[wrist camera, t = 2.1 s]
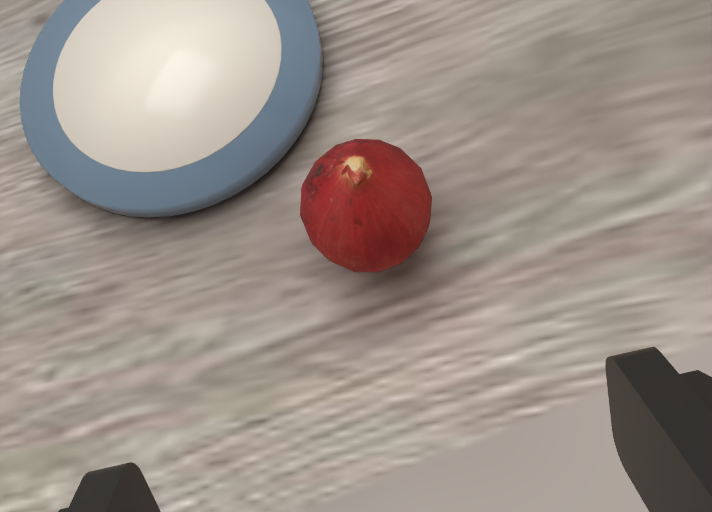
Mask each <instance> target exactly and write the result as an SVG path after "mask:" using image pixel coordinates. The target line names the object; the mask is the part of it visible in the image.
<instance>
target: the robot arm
mask: <svg viewBox="0 0 712 512" xmlns="http://www.w3.org/2000/svg"><path fill="white" fill-rule="evenodd" d="M606 377H607V386H608V395H609V405H610V413H611V423H612V431H613V437H614V442H615V445H616V448H617V452H618V455H619V457H620V460H621V462H622V465H623V467H624V469H625V471H626V472H627V474H628V476H629V478H630V479H631V481H632V483H633V484H634V486H635V488H636V490H637V491H638V493H639V494H640V496H641V498H642V500H643V502H644V503H645V505H646V507H647V508H648V510H649V512H712V377H710V376H708V375H706V374H704V373H702V372H701V371H699V370H696V371H692V372H687V373H683V374H679V373H678V372H677V371H676V370H675V369H674V367H673V366H672V365H671V364H670V363H669V362H668V360H667V359H666V358H665V357H664V356H663V354H662V353H661V352H660V351H659V350H658V349H657V348H655V347H650V348H646V349H641V350H637V351H632V352H628V353H623V354H619V355H614V356H610V357H607V359H606ZM58 512H160V509H159V507H158V505H157V503H156V501H155V499H154V497H153V495H152V493H151V491H150V489H149V487H148V484H147V482H146V480H145V478H144V476H143V474H142V472H141V470H140V469H139V467H138V466H137V465H136V464H134V463H126V464H122V465H117V466H113V467H108V468H104V469H99V470H95V471H91V472H88V473H86V474H85V476H84V477H83V479H82V480H81V483H80V485H79V487H78V489H77V491H76V493H75V495H74V497H73V499H72V502H71V504H70V506H69V508H65V509H60V510H59V511H58Z"/></svg>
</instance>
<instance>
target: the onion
mask: <svg viewBox="0 0 712 512" xmlns="http://www.w3.org/2000/svg"><path fill="white" fill-rule="evenodd" d="M431 203H432V196H431V193H430V190H429V188H428V185H427V182H426V180H425V177H424V174H423V172H422V169H421V168H420V167H419V166H418V165H417V164H416V163H415V162H414V161H413V160H412V159H411V158H410V157H409V156H408V155H407V154H406V153H405V152H404V151H402V150H401V149H400V148H398V147H396V146H393V145H391V144H388V143H386V142H383V141H381V140H369V139H354V140H351V141H348V142H345V143H341V144H338V145H335V146H334V147H333V148H332V149H330V150H329V151H328V152H327V153H325V154H324V155H323V156H322V157H320V158H319V159H318V160H317V161H315V163H314V165H313V167H312V168H311V170H310V172H309V174H308V175H307V177H306V179H305V181H304V183H303V185H302V189H301V207H300V216H301V219H302V221H303V223H304V226H305V228H306V231H307V233H308V236H309V238H310V240H311V242H312V244H313V245H314V246H315V247H316V248H317V249H318V250H319V251H320V252H321V253H322V254H323V255H324V256H325V257H326V258H327V259H328V260H329V261H331V262H333V263H336V264H338V265H340V266H343V267H345V268H347V269H350V270H352V271H354V272H379V271H382V270H385V269H388V268H390V267H393V266H396V265H399V264H401V263H402V262H403V261H404V260H406V259H407V258H408V257H409V256H410V255H411V254H412V253H413V252H414V251H415V250H416V249H418V248H419V246H420V244H421V242H422V240H423V238H424V235H425V233H426V231H427V229H428V227H429V223H430V216H431Z"/></svg>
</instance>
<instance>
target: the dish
mask: <svg viewBox="0 0 712 512" xmlns="http://www.w3.org/2000/svg"><path fill="white" fill-rule="evenodd" d="M322 72H323V52H322V45H321V38H320V35H319V32H318V29H317V25H316V22H315V19H314V16H313V13H312V9H311V7H310V5H309V3H308V1H307V0H65V1H64V2H63V3H62V4H61V5H60V6H59V7H58V8H57V9H56V11H55V12H54V13H53V14H52V16H51V17H50V18H49V20H48V21H47V22H46V24H45V25H44V27H43V29H42V30H41V32H40V34H39V35H38V37H37V39H36V41H35V43H34V45H33V47H32V49H31V52H30V54H29V57H28V60H27V63H26V66H25V69H24V73H23V78H22V83H21V92H20V111H21V121H22V125H23V129H24V132H25V136H26V139H27V141H28V143H29V145H30V148H31V150H32V152H33V154H34V155H35V157H36V158H37V160H38V161H39V163H40V164H41V166H42V167H43V168H44V169H45V170H46V171H47V172H48V173H49V174H50V175H51V176H52V177H53V178H54V179H55V180H56V181H58V182H59V183H60V184H61V185H63V186H64V187H65V188H67V189H68V190H69V191H71V192H72V193H73V194H75V195H76V196H77V197H78V198H80V199H82V200H84V201H86V202H87V203H89V204H91V205H93V206H95V207H98V208H100V209H103V210H106V211H109V212H112V213H116V214H121V215H126V216H133V217H149V218H151V217H166V216H174V215H179V214H185V213H190V212H194V211H197V210H200V209H203V208H206V207H209V206H212V205H214V204H217V203H219V202H221V201H223V200H225V199H228V198H230V197H232V196H233V195H235V194H237V193H239V192H240V191H242V190H244V189H245V188H247V187H249V186H250V185H251V184H253V183H254V182H255V181H257V180H258V179H259V178H261V177H262V176H263V175H265V174H266V173H267V172H268V171H269V170H270V169H271V168H272V167H273V166H274V165H275V164H276V163H277V162H278V161H280V160H281V159H282V158H283V156H284V155H285V154H286V153H287V151H288V150H289V149H290V148H291V147H292V145H293V144H294V143H295V141H296V140H297V138H298V137H299V135H300V134H301V132H302V130H303V129H304V127H305V126H306V124H307V122H308V119H309V117H310V115H311V113H312V111H313V109H314V106H315V103H316V100H317V97H318V93H319V90H320V85H321V78H322Z"/></svg>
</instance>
